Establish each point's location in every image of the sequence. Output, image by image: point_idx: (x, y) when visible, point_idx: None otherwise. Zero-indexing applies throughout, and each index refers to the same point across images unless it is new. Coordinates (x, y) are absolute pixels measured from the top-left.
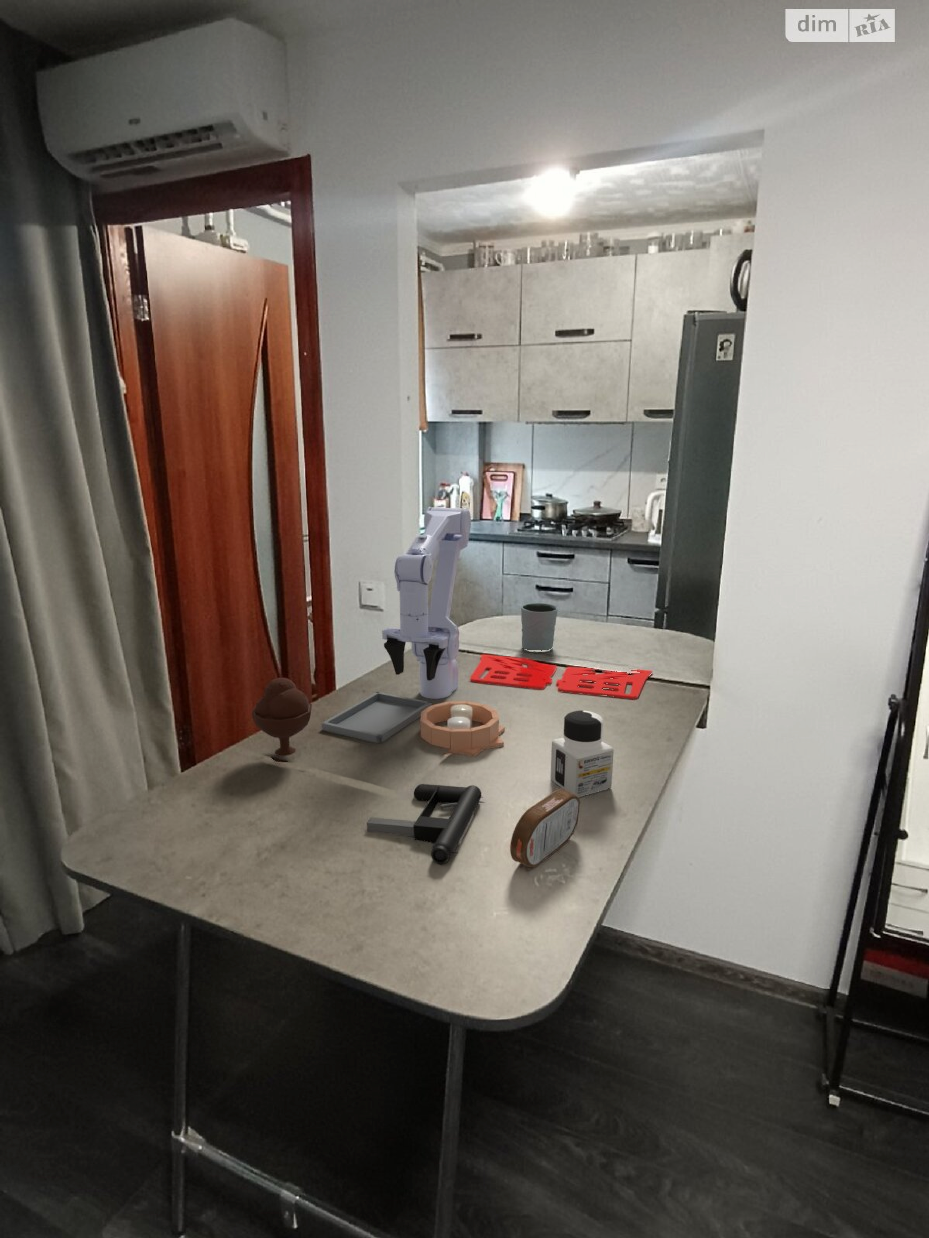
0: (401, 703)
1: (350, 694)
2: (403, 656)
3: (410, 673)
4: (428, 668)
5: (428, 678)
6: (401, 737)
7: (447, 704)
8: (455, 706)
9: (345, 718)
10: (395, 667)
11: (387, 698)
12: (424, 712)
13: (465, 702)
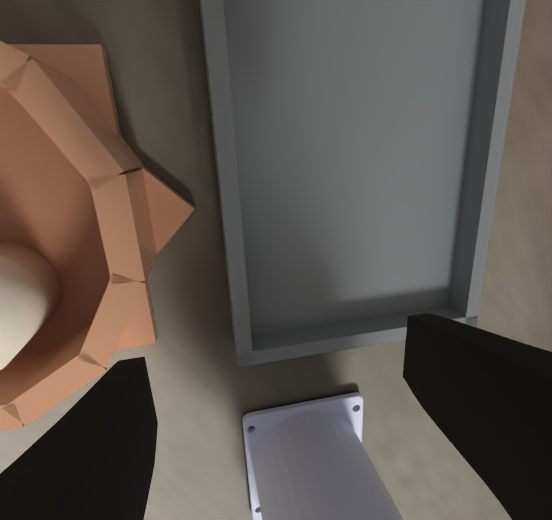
0: (357, 321)
1: (549, 307)
2: (495, 490)
3: (459, 514)
4: (69, 434)
5: (121, 365)
6: (186, 79)
7: (85, 342)
8: (2, 332)
9: (476, 83)
10: (465, 331)
11: None
12: (104, 181)
13: (21, 409)
